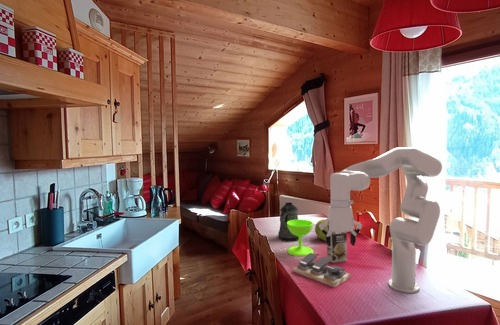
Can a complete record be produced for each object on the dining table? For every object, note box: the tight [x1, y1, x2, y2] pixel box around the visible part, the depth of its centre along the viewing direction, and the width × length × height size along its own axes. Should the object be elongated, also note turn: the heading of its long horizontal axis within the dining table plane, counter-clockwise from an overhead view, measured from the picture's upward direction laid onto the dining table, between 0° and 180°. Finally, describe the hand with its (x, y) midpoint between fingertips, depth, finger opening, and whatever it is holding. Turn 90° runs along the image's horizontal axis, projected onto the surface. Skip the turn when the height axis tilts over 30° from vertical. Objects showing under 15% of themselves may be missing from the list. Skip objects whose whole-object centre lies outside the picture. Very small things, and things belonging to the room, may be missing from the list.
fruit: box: [314, 218, 328, 242], centre depth 202 cm, size 16×14×15 cm
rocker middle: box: [311, 256, 331, 272], centre depth 148 cm, size 10×4×1 cm, turn 132°
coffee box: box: [326, 232, 348, 264], centre depth 166 cm, size 9×6×16 cm
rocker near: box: [325, 265, 345, 272], centre depth 142 cm, size 10×4×1 cm, turn 132°
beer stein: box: [277, 202, 299, 242], centre depth 206 cm, size 16×19×25 cm
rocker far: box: [298, 253, 318, 267], centre depth 154 cm, size 10×4×1 cm, turn 132°
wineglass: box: [286, 219, 315, 257], centre depth 180 cm, size 16×16×18 cm
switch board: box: [293, 260, 351, 288], centre depth 148 cm, size 14×24×5 cm, turn 42°
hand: (340, 245), depth 120 cm, fingers open, 9 cm apart
